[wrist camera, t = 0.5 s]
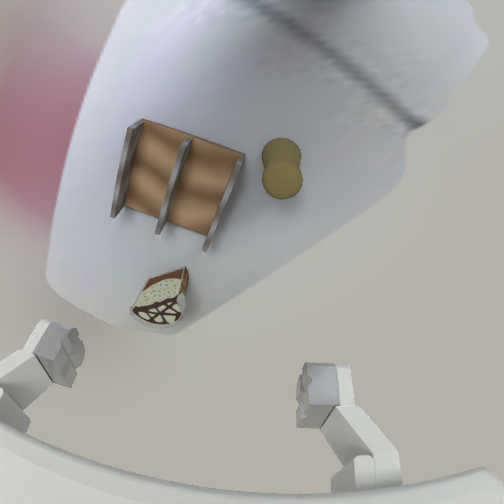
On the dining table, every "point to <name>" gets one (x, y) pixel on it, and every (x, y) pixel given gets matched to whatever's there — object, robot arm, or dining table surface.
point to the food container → (162, 299)
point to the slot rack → (175, 177)
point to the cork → (281, 168)
